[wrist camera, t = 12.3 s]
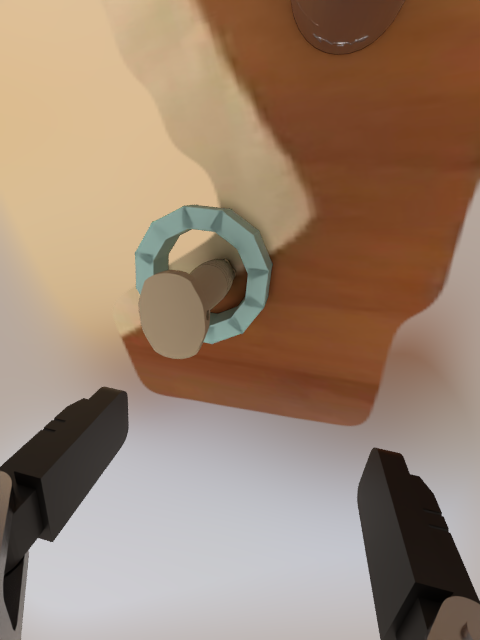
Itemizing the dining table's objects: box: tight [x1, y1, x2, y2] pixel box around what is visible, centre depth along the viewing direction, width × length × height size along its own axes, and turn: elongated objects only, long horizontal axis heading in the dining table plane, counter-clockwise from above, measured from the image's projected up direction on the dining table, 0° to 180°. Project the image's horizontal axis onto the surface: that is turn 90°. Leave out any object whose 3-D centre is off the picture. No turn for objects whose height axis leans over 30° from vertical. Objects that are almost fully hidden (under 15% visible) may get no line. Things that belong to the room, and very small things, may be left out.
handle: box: [139, 259, 236, 359], centre depth 29 cm, size 5×6×15 cm
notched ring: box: [135, 205, 273, 344], centre depth 34 cm, size 14×14×4 cm
